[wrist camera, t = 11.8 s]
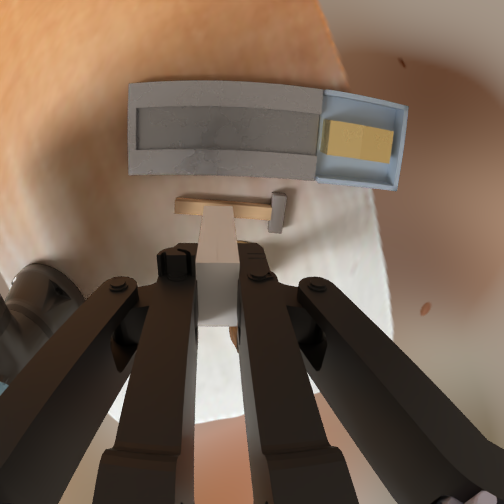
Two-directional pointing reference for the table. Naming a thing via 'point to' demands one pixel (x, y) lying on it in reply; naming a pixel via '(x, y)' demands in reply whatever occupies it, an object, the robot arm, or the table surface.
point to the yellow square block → (341, 139)
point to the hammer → (240, 209)
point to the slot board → (223, 129)
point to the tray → (366, 114)
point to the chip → (376, 144)
